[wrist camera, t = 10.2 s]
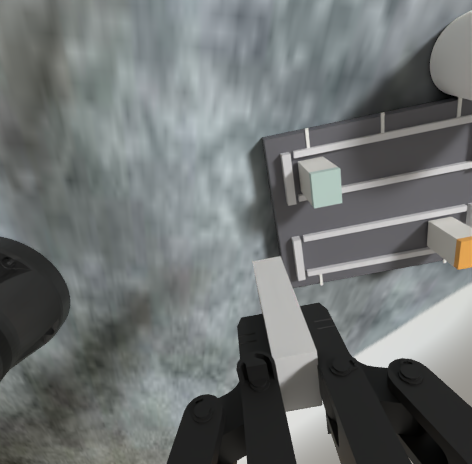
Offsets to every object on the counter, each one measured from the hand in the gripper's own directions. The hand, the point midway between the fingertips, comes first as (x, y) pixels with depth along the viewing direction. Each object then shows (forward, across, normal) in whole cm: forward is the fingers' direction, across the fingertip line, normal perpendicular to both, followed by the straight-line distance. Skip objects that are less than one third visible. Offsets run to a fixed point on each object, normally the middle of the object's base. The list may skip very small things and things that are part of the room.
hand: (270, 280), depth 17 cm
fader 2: (+15, +20, -8) cm, 26 cm away
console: (+18, +14, -4) cm, 23 cm away
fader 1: (+16, +7, +1) cm, 17 cm away
